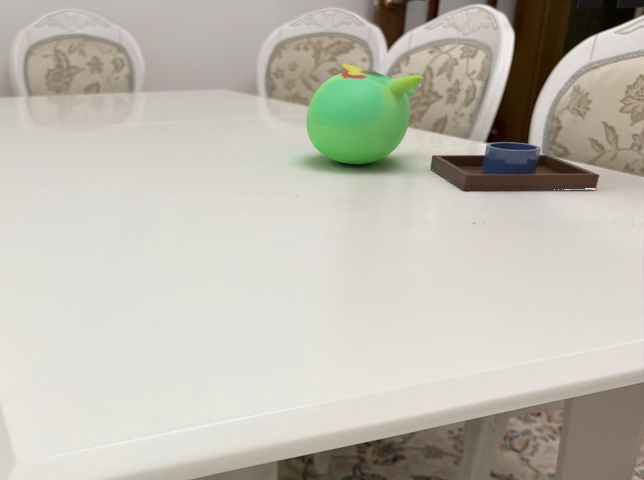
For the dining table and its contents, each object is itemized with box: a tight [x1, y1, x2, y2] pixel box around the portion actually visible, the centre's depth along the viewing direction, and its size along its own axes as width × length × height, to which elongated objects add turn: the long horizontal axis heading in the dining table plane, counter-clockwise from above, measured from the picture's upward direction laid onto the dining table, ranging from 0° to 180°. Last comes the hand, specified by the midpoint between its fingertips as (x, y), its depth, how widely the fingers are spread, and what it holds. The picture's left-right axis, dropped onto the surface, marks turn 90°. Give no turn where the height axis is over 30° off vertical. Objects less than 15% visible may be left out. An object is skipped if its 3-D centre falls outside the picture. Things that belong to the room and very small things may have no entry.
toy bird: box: [305, 63, 423, 165], centre depth 107 cm, size 18×17×15 cm
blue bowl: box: [481, 141, 542, 174], centre depth 97 cm, size 7×7×4 cm
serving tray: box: [429, 154, 600, 192], centre depth 98 cm, size 18×15×2 cm
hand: (608, 8), depth 89 cm, fingers open, 9 cm apart
